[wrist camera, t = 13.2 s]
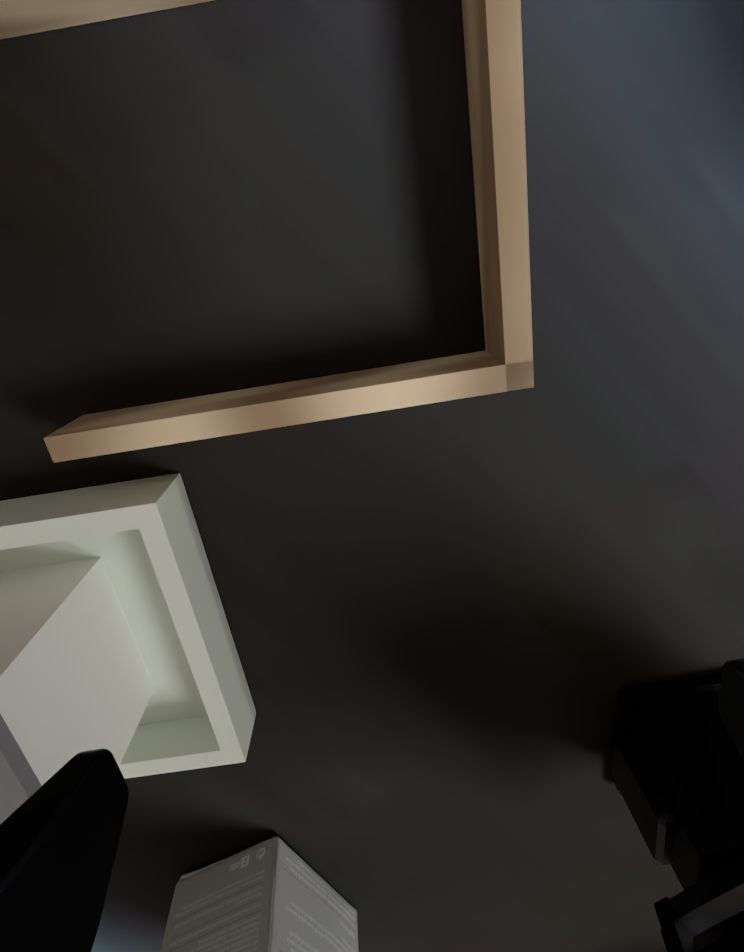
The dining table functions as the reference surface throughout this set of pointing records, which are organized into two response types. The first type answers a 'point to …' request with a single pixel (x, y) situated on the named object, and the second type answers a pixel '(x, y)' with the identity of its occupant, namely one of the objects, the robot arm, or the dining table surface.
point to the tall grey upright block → (63, 674)
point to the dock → (379, 389)
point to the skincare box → (259, 907)
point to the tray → (150, 611)
